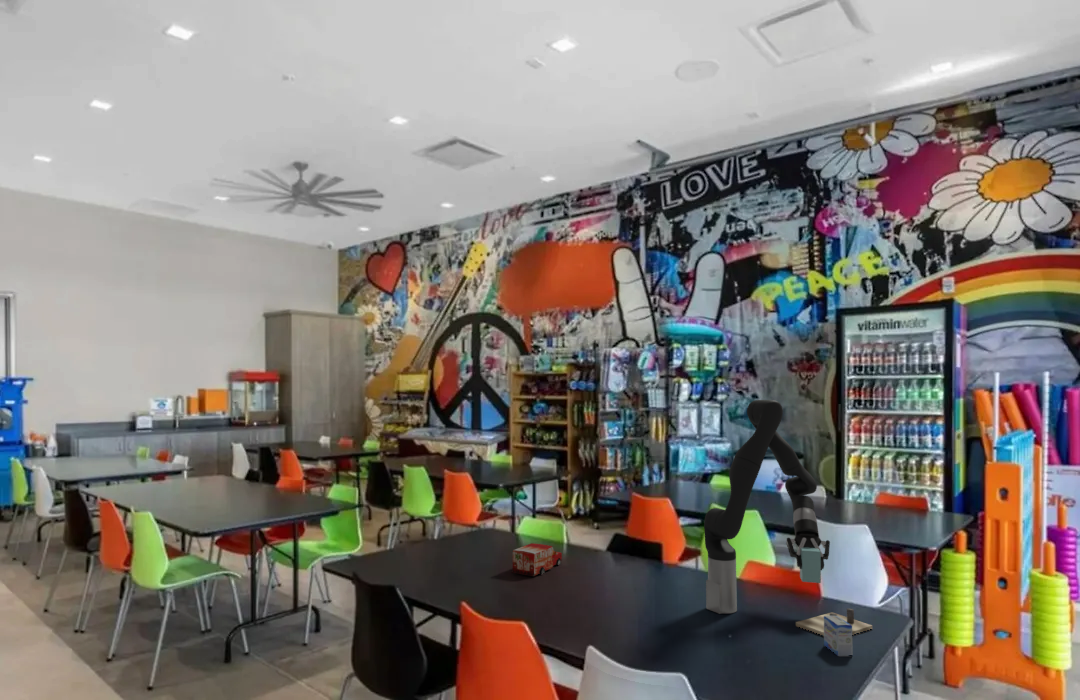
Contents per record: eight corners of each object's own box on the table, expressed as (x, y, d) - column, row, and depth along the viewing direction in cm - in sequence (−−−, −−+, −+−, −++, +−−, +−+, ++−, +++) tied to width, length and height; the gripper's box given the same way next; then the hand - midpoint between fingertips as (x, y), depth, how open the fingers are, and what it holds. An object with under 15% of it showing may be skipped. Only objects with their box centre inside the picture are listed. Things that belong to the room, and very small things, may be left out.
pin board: (835, 640, 197) (835, 622, 197) (795, 626, 209) (795, 609, 209) (872, 629, 206) (871, 612, 206) (832, 615, 218) (831, 599, 218)
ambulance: (565, 565, 281) (565, 540, 281) (534, 579, 260) (534, 553, 260) (543, 561, 286) (543, 537, 287) (511, 575, 265) (511, 549, 266)
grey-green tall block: (820, 583, 216) (820, 551, 216) (802, 581, 217) (802, 550, 218) (818, 578, 221) (817, 547, 222) (800, 577, 223) (799, 546, 223)
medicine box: (823, 645, 193) (822, 615, 193) (838, 645, 193) (837, 615, 194) (838, 657, 185) (837, 625, 186) (853, 656, 186) (852, 624, 186)
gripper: (784, 516, 229) (788, 560, 217) (829, 519, 226) (836, 564, 214) (782, 529, 234) (786, 572, 222) (826, 532, 231) (833, 576, 218)
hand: (811, 568), depth 218 cm, fingers closed on grey-green tall block, 5 cm apart
